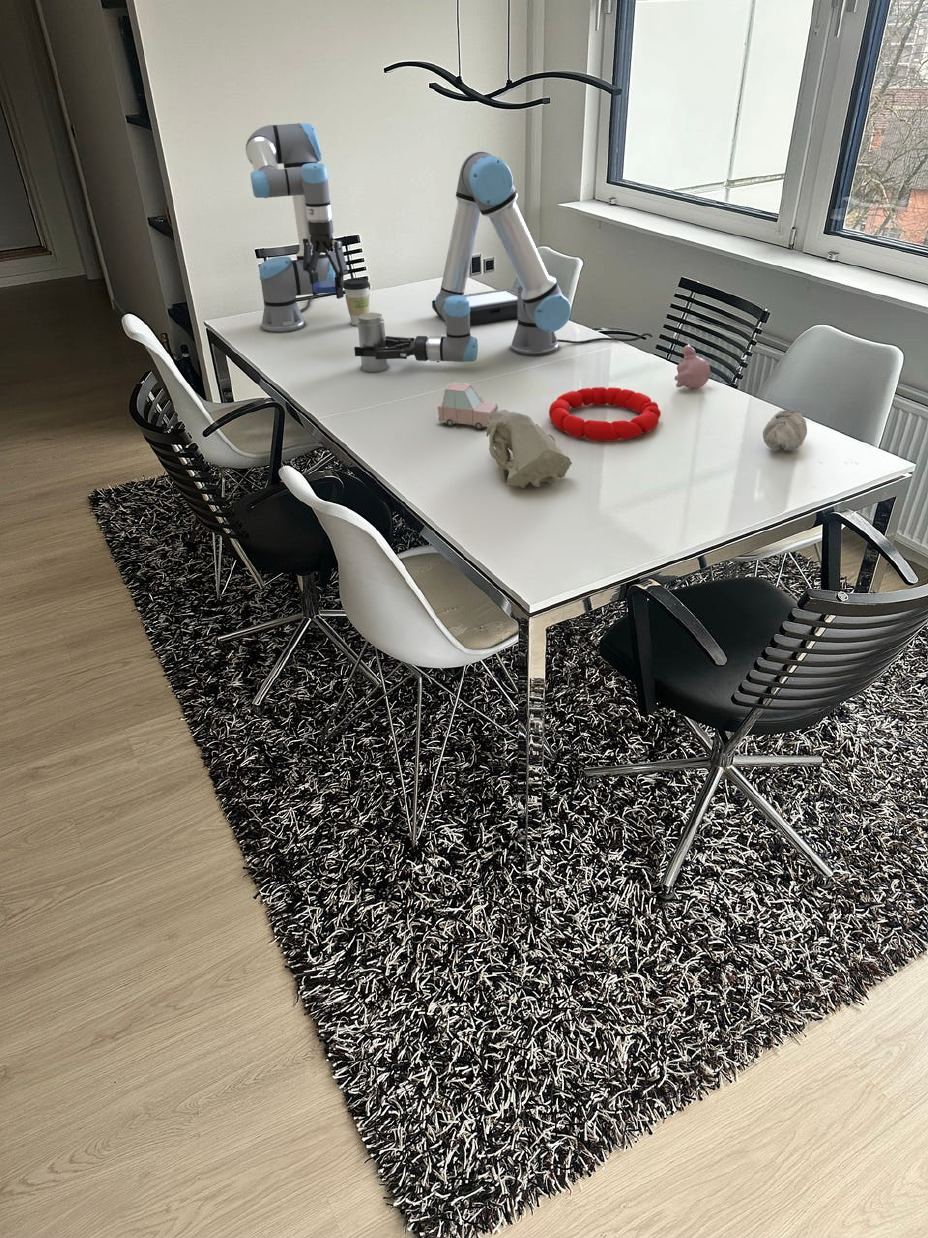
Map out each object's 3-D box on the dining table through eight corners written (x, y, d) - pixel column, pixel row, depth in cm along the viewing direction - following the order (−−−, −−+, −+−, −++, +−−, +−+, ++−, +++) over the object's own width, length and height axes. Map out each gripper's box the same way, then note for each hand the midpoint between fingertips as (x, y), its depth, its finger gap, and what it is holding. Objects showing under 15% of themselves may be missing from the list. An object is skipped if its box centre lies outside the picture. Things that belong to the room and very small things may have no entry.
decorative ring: (589, 435, 224) (684, 402, 234) (527, 398, 247) (617, 369, 256) (589, 461, 229) (683, 427, 238) (529, 422, 251) (617, 393, 260)
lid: (319, 285, 288) (318, 279, 287) (346, 286, 286) (345, 280, 285) (308, 293, 281) (308, 286, 280) (336, 293, 279) (335, 287, 278)
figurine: (665, 387, 264) (669, 347, 257) (693, 380, 268) (698, 340, 261) (686, 396, 257) (690, 355, 250) (714, 388, 262) (720, 348, 255)
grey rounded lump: (746, 448, 227) (752, 410, 221) (789, 435, 232) (796, 398, 227) (776, 462, 219) (783, 424, 213) (820, 449, 225) (828, 411, 219)
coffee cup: (372, 326, 323) (368, 283, 314) (345, 327, 323) (340, 284, 315) (374, 318, 331) (371, 276, 322) (348, 319, 331) (344, 277, 323)
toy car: (488, 432, 240) (488, 396, 234) (436, 426, 244) (434, 390, 239) (499, 419, 247) (499, 384, 241) (448, 413, 252) (447, 379, 246)
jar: (392, 368, 285) (388, 316, 276) (370, 373, 282) (365, 321, 272) (379, 361, 291) (374, 310, 282) (357, 367, 287) (352, 315, 278)
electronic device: (453, 311, 314) (431, 298, 329) (454, 329, 317) (432, 315, 332) (533, 299, 324) (509, 286, 339) (533, 316, 327) (509, 303, 342)
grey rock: (496, 517, 219) (521, 479, 201) (463, 429, 225) (484, 384, 207) (557, 503, 225) (586, 465, 206) (523, 417, 231) (549, 373, 212)
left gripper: (284, 219, 274) (294, 294, 287) (340, 224, 265) (348, 302, 277) (300, 215, 280) (309, 289, 292) (355, 220, 270) (362, 296, 283)
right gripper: (422, 371, 274) (351, 369, 277) (435, 349, 291) (367, 348, 294) (421, 347, 269) (348, 345, 273) (434, 326, 286) (365, 325, 290)
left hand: (328, 295), depth 285 cm, fingers closed on lid, 9 cm apart
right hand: (358, 346), depth 283 cm, fingers closed on jar, 8 cm apart
